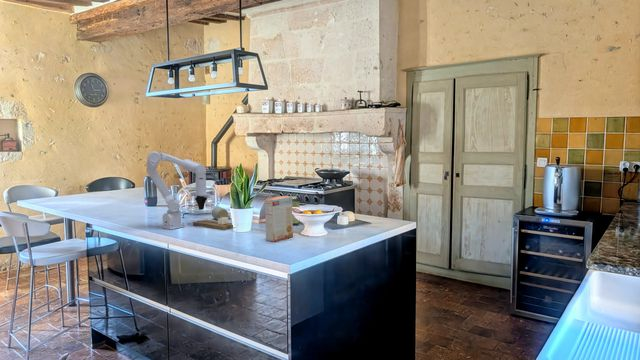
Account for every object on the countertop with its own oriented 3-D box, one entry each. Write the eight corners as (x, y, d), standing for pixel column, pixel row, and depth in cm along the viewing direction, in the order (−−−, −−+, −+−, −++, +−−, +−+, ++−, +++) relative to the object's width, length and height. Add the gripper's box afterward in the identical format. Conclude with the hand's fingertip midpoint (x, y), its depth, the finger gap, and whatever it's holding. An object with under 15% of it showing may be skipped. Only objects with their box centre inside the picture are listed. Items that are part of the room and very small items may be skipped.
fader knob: (221, 224, 251) (221, 218, 251) (218, 224, 253) (217, 218, 253) (228, 223, 256) (228, 217, 255) (224, 222, 257) (224, 216, 257)
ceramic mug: (218, 221, 273) (218, 208, 273) (211, 219, 280) (211, 207, 279) (233, 219, 281) (233, 206, 280) (226, 217, 287) (226, 205, 286)
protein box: (298, 225, 260) (298, 198, 258) (271, 225, 259) (271, 198, 258) (299, 222, 270) (299, 196, 268) (273, 222, 270) (272, 196, 268)
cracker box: (284, 235, 234) (284, 195, 232) (293, 237, 231) (293, 196, 229) (264, 240, 224) (264, 198, 222) (273, 242, 220) (273, 199, 218)
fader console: (223, 230, 248) (223, 226, 247) (193, 225, 260) (192, 222, 260) (236, 227, 256) (236, 223, 256) (206, 222, 269) (206, 219, 269)
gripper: (215, 185, 258) (215, 209, 259) (197, 184, 266) (197, 207, 267) (205, 187, 252) (206, 211, 253) (187, 185, 260) (188, 209, 261)
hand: (201, 209), depth 260 cm, fingers closed
